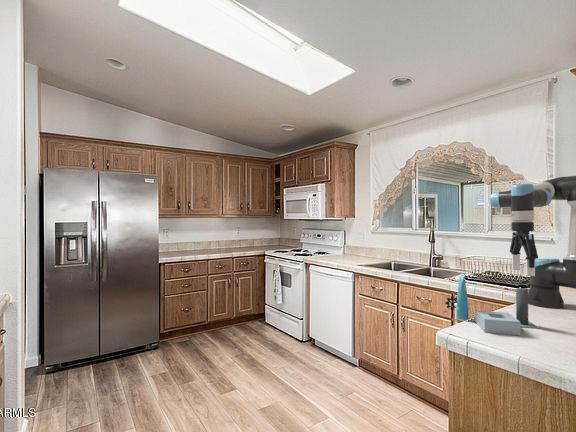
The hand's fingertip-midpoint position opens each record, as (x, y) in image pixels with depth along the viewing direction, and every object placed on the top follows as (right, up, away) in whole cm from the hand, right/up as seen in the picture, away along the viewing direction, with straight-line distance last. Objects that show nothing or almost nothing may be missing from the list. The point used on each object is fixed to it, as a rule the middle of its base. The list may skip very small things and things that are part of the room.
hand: (523, 272), depth 134 cm
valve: (-18, -22, +15) cm, 32 cm away
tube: (-21, -22, +8) cm, 31 cm away
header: (-14, -21, -5) cm, 26 cm away
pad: (0, -21, 0) cm, 21 cm away
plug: (0, -21, 0) cm, 21 cm away
